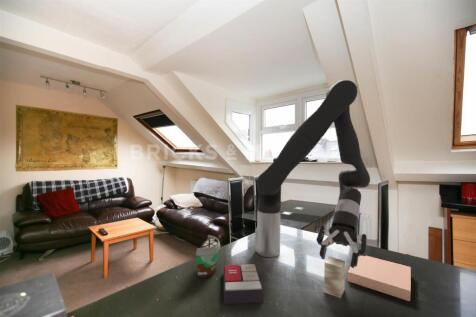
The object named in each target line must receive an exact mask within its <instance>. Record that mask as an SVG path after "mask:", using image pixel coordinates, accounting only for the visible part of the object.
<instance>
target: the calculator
mask: <svg viewBox="0 0 476 317" xmlns="http://www.w3.org/2000/svg"><path fill="white" fill-rule="evenodd" d="M224 303H236V304H254V303H255V304H257V303H264V287H263V284H262V280H261V278H260V275H259V271H258V268H257V265H256V264H255V263H253V264H251V263H250V264H247V263H246V264H241V265H239V264H226V265H225V266H223V304H224Z"/></svg>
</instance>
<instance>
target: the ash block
mask: <svg viewBox="0 0 476 317" xmlns="http://www.w3.org/2000/svg"><path fill="white" fill-rule="evenodd" d="M323 273H324V274H323V275H324V276H323V278H324V280H323V293H326V294H328V295H331V296H333V297H336V298H339V299H341V298H342V296H343V294H344V292H345V284H346V283H345V281H346V280H345V279H346V278H345V277H346V260H343V259H339V258H336V257H332V256H328V257H327V259H326V260H325V261H324V270H323Z"/></svg>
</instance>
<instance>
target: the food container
mask: <svg viewBox="0 0 476 317" xmlns="http://www.w3.org/2000/svg"><path fill="white" fill-rule="evenodd" d="M220 249H221V243H220V240H219V238H218V237H216V236H214V235H209V234H208V235H207V238H206V240H205V241H204V242H202V243H201V246H200V247H197V248H196V252H195V256H196V264H197V265H196V266H197V277H198V278H205V277H210V276H212V275H214V274H215V273H217V271H218V261H219V260H218V259H219V250H220Z"/></svg>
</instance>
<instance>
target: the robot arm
mask: <svg viewBox="0 0 476 317" xmlns="http://www.w3.org/2000/svg"><path fill="white" fill-rule="evenodd" d="M325 94H326V95H325V98H324V99H323V101H322V102H321V104H320V106H319V107H318V108H317V109H316V110H315V111H314V112H313V113H312V114H311V115H310V116H309V117H307V119H306V120H305V121H303V123H301V124H300V125H299V126H298V127H297V129H296V130H295V131H294V132H293V134H292V135H291V136H290V137H289V139H288V141H287V142H286V143H285V144H284V146H283V148H282V150H281V151H280V152H279V154H278V156H277V157H276V159H275V160H274V161H272V163H271V164H270V165H269V166H268V167H267V168H266V169H265V170H264V171H263V172H262V173H260V174H259V175H258V177H257V179H256V188H257V191H258V199H257V204H256V205H257V206H256V207H257V211H256V212H257V216H256V217H257V219H256V220H257V221H256V222H257V225H256V226H257V227H256V228H255V229H254V230H255V232H254V233H255V234H254V249H255V250H254V252H255V253H257V254H258V255H259V256H261V257H265V258H275V257H278V256H280V254H281V208H282V207H281V206H282V205H281V204H282V185H283V184H284V182H285V180H286V179H287V178H288V177H289V175H290V174H291V172H292V171H293V170H294V169H295V168H296V167H297V166H298V165H299V164H301V162H303V160H304V159H306V157H307V156H309V154H310V153H311V152H312V150H314V149H315V148H316V145H318V143H319V142H320V141H321V140H322V138H323V137H324V136H325V134H326V133H327V131H328V130H329V129H330V127H331V126H332V124H334V125H333V126H334V130H335V134H336V139H337V146H338V152H339V158H340V162H341V164H345V165H351V166H352V167H354V168H351V169H349V168H347V169H342V170H341V171H340V172H339V174H338V182H339V184H338V185H339V196H338V198H337V204H336V205H335V209H334V214H333V217H332V222H331V226H330V227H329V228H327V227H325V226H324V225H321V226H320V228H319V230H318V233H317V237H316V242H317V245H318V246H320V249H319V256H320V257H321V260H325V259H326V255H327V248H329V247H330V246H332V245H333V244H336V245H342V246H344V247H347V246H348V247H349V248H350V249H351V251H352V255H351V260H350V266H351V268H354V266H355V267H356V266H357V263H358V257H359V256H367V250H368V246H367V245H368V238H367V234H366V233H363V234H357V231H358V230H357V229H358V224H359V220H360V210H361V209H360V206H361V201H362V193H361V191H360V190H359V188H363V189H364V188H366V187H369V185H370V183H371V177H370V173H369V171H368V169H367V168H366V166H365V163H364V161H363V158H362V154H361V149H360V142H359V139H358V136H357V132H356V130H355V127H354V125H353V122H352V118H351V111H350V109H351V108H350V106H351V105H352V104H353V103H355V100H357V99H356V98H357V96H358V87H357V84H356V83H355V82H354V81H353V80H348V79H344V80H343V79H342V80H339V81H336V83H334V84H333V85H331V87H329V89H328V90H327V92H326V93H325ZM328 233H329V235H328V236H327V237H326V238H325V235H327V234H328ZM324 238H325V239H324ZM357 239H358V241H359V243H361V244H360V249H358V247H357V246H356V245H355V243H354V242H355V241H357Z"/></svg>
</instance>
